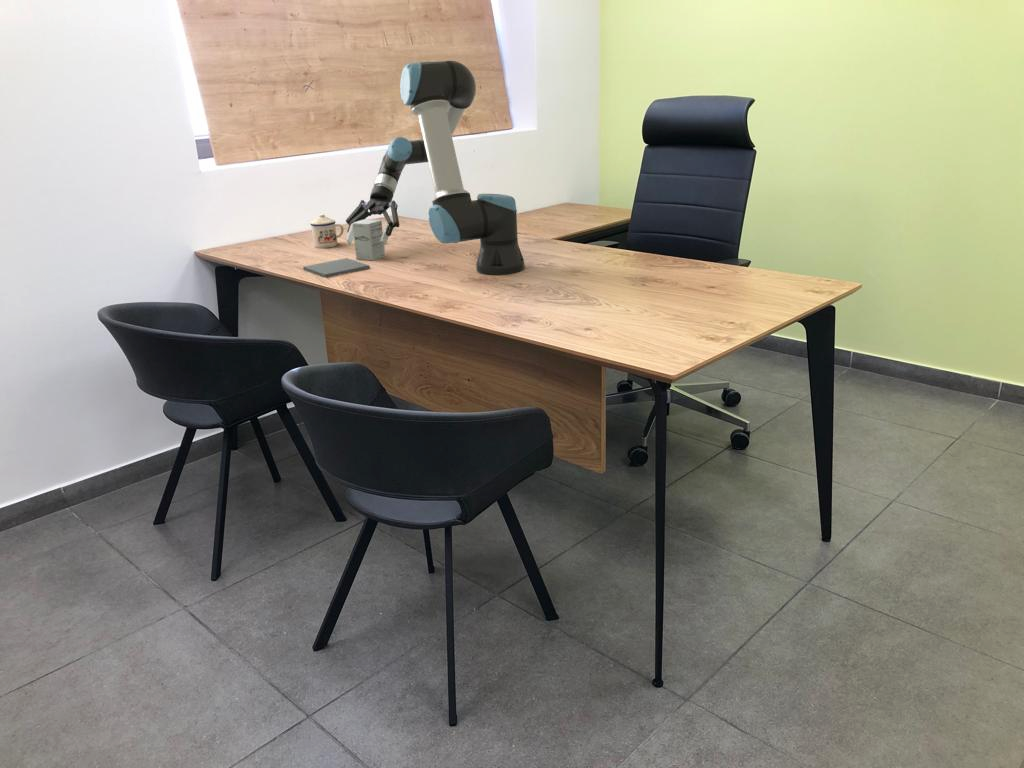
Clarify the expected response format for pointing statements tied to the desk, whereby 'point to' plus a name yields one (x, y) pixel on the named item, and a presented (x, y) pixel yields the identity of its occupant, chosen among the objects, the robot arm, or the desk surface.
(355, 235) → the supplement box
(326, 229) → the teacup with lid
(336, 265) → the slate mat
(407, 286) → the desk surface
